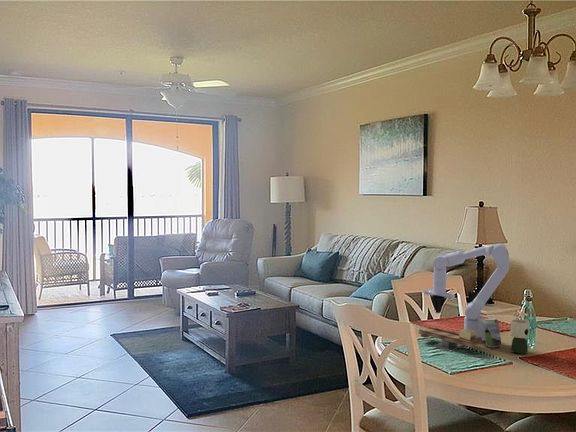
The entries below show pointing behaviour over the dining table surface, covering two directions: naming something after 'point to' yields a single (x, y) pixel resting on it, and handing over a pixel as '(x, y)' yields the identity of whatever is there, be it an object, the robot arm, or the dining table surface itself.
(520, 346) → the character mug
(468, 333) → the brass block
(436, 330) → the beam
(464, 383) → the dining table surface
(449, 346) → the pivot stand
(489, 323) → the beverage can
